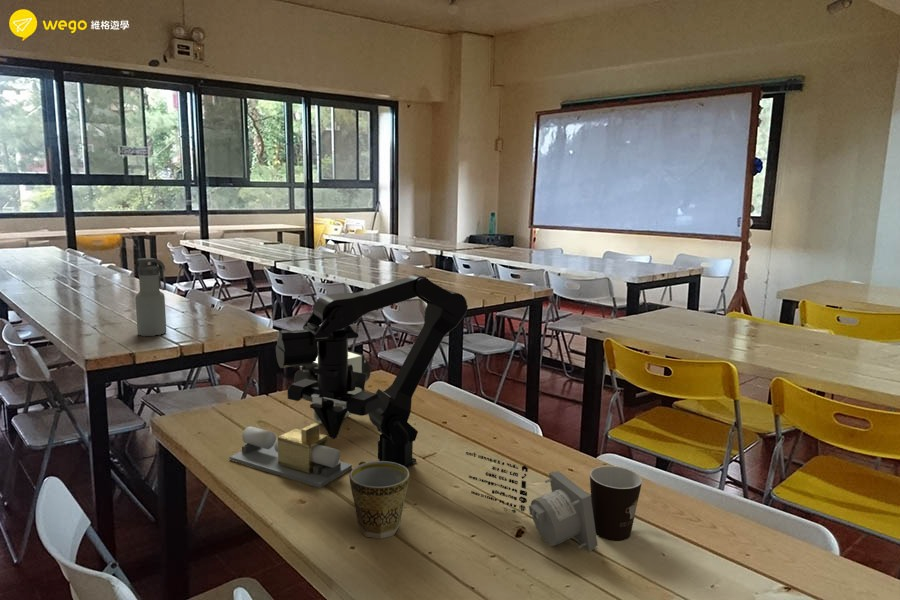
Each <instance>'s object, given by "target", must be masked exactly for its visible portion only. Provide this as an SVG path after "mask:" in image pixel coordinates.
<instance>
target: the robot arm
mask: <svg viewBox="0 0 900 600" xmlns="http://www.w3.org/2000/svg"><path fill="white" fill-rule="evenodd" d="M415 298H418V299H420V300H421V301H422V302H424V303H426V307H425V310H424V321H423V326H422V328H421V330H420V331H419V333H418V335H417V338H416V339H415V341H414V343H413V345H412V347H411V349H410V351H409V353H408V354H407V356H406V358H405V359H404V361H403V364H402V365H401V367H400V369H399V371H398V372H397V375H396V377H395V378H394V380H393V382H392V384H391V385H390V386H389V387H388V388H386V389H385V390H382V389H381V388H378V389H377V390H376V392H371V391H366V390H365V391H361V392H359V393H357V394H355V395H354V394H349V393H348V392H349V391H354V390H355V387H358V388H361V389H364V387H365V388H366V382H367V381H366V377H367V374H364V373H359V372H354V371H353V367H352V365H350V364H348V350H349V339H357V338H359V336H360V335H359V333H357V332H356V331H355V330H354V329H353V328H352V326H351V325H352V324H354V323H356V322H357V321H359V319H361V318H362V317H364V316H365V315H367V314H369V313H370V312H371V313H372V312H374V311H377V310H380V309H383V308H386V307H391V306H394V305H395V304H399V303H403V302H405V301H408V300H411V299H415ZM468 309H469V306H468V303H467V299H466V298H465V296H464V295H462V294H461V293H458V292H456V291H452V290H449V289H445V288H443V287H442V286H439V285H437V284H436V283H434V282H432V281H431V280H429V279H428V278H427V276H423V275H421V274H416V273H413V274H410V275H409V276H407V277H402V278H401V279H396V280H393V281H390V282H387V283H384V284H381V285H378V286H374V287H371V288H368V289H365V290H361V291H358V292H357V291H356V292H339V293H330V294H325V295H322V296H320V297H318V299H316V301H315V303H314V307H313V311H312V313H311V315H310V316H309V317H308V319H307V320H306V322H305V323H304V325H303V326H302V329H296V330H294V329H293V330H286V329H283V330H280V331H279V332H278V337H277V341H276V345H275V355H276V357H275V358H276V361H277V364H278V366H279V368H280V369H286V368H294V367H300V366H303V365H311V364H312V363H313V362H314V361H316V358H317V356H318V367H315V368H313V369H314V373H315V374H318V381H314V380H309V379H303V380H301V381H298V382H295V383H294V382H293V383H291V384H290V385H289V386H288V388H287V389H286V390H287V399H288V400H292V401H296V402H299V401H301V400H302V399H303V394H304V395H308V396H311V397H312V399H313V402H312V403H311V404H309V407H310V409H313V412H314V411H315V412H316V414H317V415H318V417H319V418H320V420H321V422H322V424H321V425H322V426H323V427H324V429H325V431H326V432H327V434H328V435H327V436H329V438H330V439H332V440H334V439H337V437H338V435H339V432H340V429H341V427H342V424H343V421H344V419H345V418H344V417H345V415H346V413H347V411H348V412H349V413H351V415H356V416H361V417H363V416H367V415H368V419H369V421H370V423H372V425H374V426H375V427H376V429H377V432H380V434H379V440H378V441H377V459H378V461H388V462H394V463H397V464H400V465H402V466H404V467H405V468H407V469H408V468H409V467H411V466H412V465H413V464H415V463H416V462H417V458H416V457H415V458H414V457H413V447H414V446H413V445H414V444H413V442H416V439H417V437H418V433H419V431H418V430H417V429H416V428H415V427H413V426H412V425H411V423H409V422H408V421H409V419H410V415H411V412H412V402H413V401H412V400H413V395H414V393H415V392H416V389H417V388H418V387H419V384H420V382H421V380H422V379H423V377H424V375H425V373H426V371H427V369H428V367H429V366H430V363H431V362H432V361H433V358H434V356H435V355H436V353H437V350H438V349H439V346H440V345H441V343H442V342H443V339H444V338H445V337H446V335H447V334H448V333H450V332H451V331H452V330H453V329H455V328H456V327H458V325H459V323H460V322H461V321H462V320H463V318H464V317H465V315H466V314H467V312H468Z"/></svg>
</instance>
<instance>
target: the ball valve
mask: <svg viewBox="0 0 900 600" xmlns="http://www.w3.org/2000/svg"><path fill="white" fill-rule="evenodd" d="M348 364H350V365H352V367H353V371H354V372H359V373H364V374H367V377H366V382H367V381H369V379H370V377H371V366H370V363H369V362H368V360H367V359H366V358H365V354H362V353H359V352H355V351H352V350H349V349H348ZM315 367H318V356H317V358H316V361H314V362H313V363H312V364H311V365H303V366H299V370H297V371H296V372H295V373H294V377H293V383H295V382H298V381H301V380H303V379H309V380H314V381H318V374H315V373H314V369H313V368H315ZM365 388H366V386H365V387H364V389H361V388H358V387H355V390H354V391H349V392H348V393H349V394H354V395H355V394H357V393H359V392H361V391H366V390H365ZM302 399H304V400H305V401H308V402H310V403H313V399H312V397H311V396H308V395H304V394H303V398H302ZM351 415H352V414H351V413H349V412H348V411H347V413H346V415H345V417H344V419H346V418H348V417H349V416H351ZM313 419H314V420H315V423H317V424H319V425H320V424H321V425H323V424H322V422H321V420H320V418H319V417H318V415H317V414H316V412H315V411H314V410H313Z"/></svg>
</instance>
